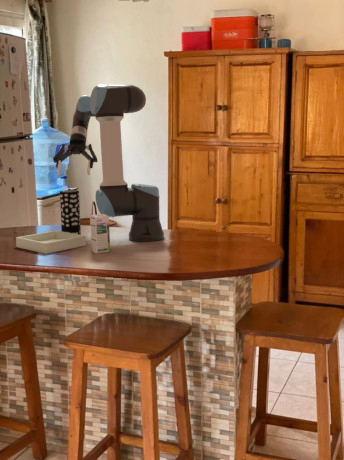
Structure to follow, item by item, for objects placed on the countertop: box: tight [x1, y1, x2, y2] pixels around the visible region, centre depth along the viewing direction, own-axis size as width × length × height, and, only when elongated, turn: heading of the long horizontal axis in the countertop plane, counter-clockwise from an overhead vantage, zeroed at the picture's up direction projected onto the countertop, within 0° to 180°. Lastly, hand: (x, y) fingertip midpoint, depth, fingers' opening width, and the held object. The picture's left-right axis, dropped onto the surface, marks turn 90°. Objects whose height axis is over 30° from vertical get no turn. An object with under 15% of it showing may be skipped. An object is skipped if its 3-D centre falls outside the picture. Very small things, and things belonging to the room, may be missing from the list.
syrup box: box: [89, 213, 111, 254], centre depth 251 cm, size 6×6×14 cm
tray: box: [15, 230, 87, 255], centre depth 264 cm, size 20×20×4 cm
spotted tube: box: [59, 189, 82, 235], centre depth 283 cm, size 8×8×20 cm
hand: (73, 173), depth 291 cm, fingers open, 13 cm apart
